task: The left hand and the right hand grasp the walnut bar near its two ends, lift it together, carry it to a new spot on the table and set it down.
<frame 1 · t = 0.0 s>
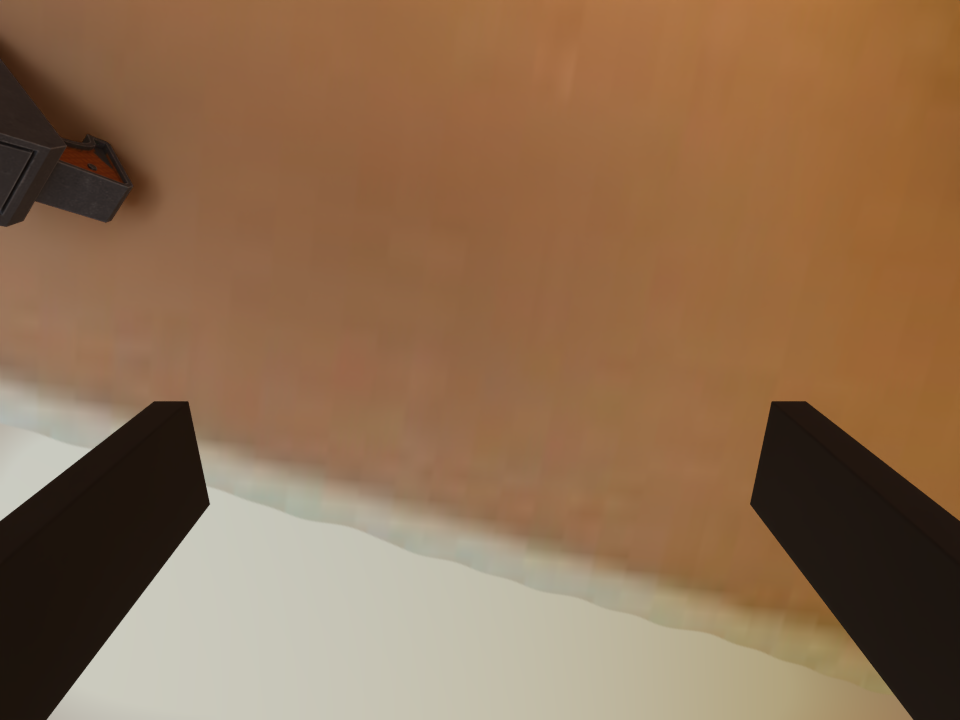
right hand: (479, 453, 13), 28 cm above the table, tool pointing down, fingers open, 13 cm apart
tool: (5, 87, 35), on the table
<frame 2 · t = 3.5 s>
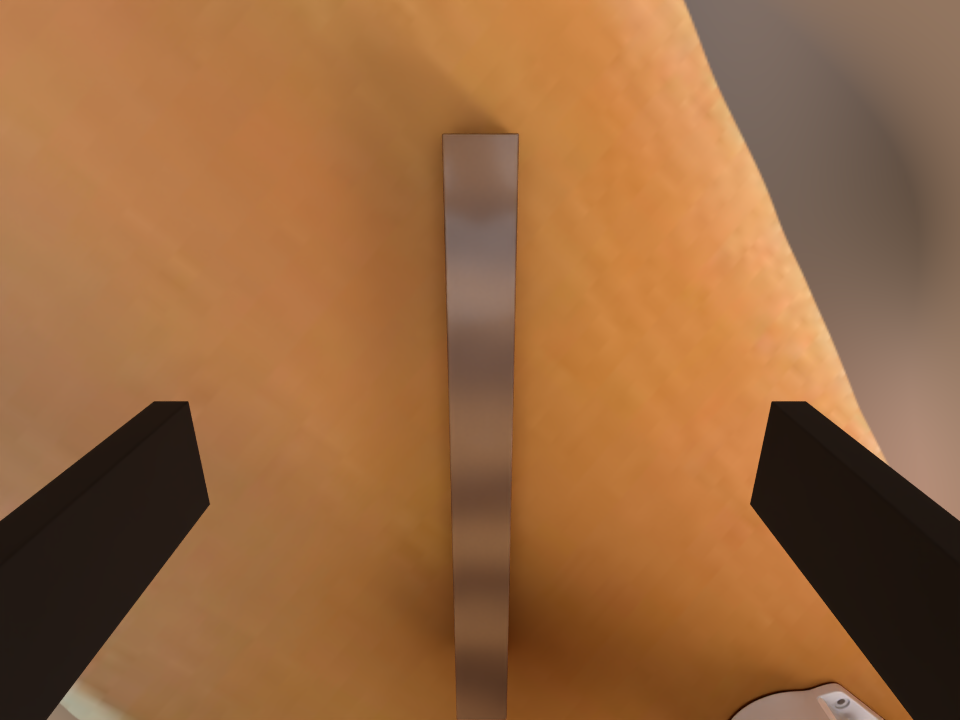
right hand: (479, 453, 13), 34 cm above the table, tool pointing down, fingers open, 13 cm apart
bar: (481, 440, 51), on the table
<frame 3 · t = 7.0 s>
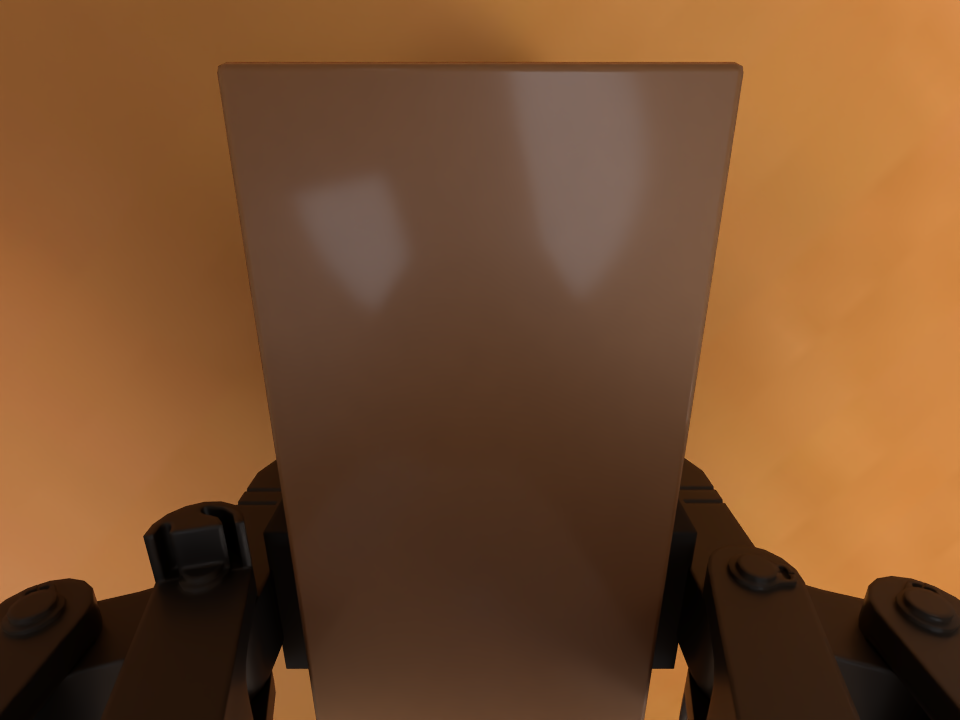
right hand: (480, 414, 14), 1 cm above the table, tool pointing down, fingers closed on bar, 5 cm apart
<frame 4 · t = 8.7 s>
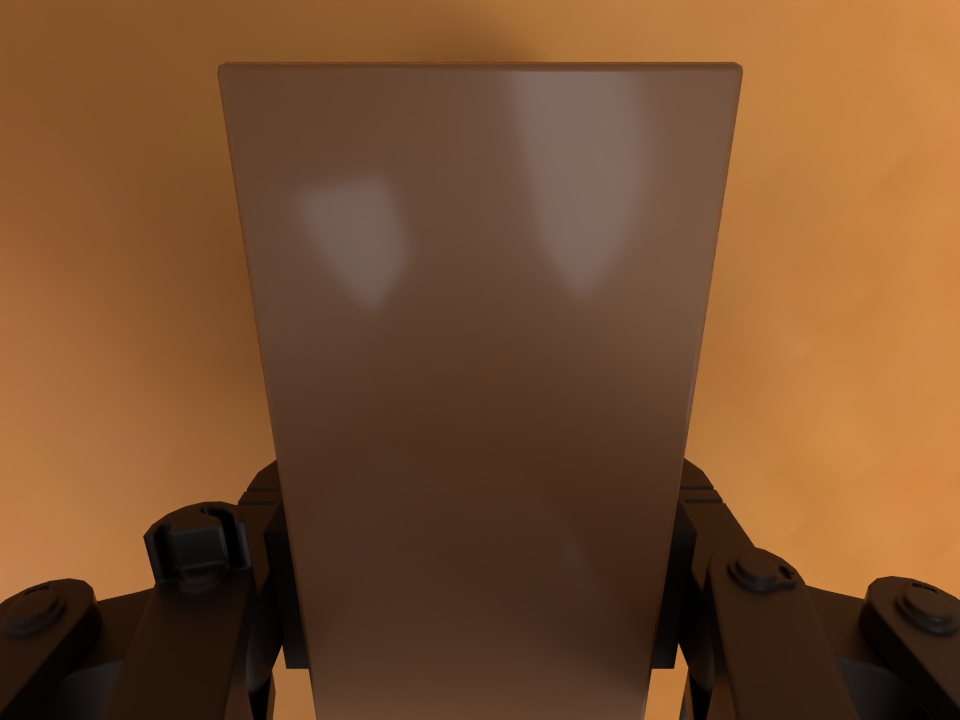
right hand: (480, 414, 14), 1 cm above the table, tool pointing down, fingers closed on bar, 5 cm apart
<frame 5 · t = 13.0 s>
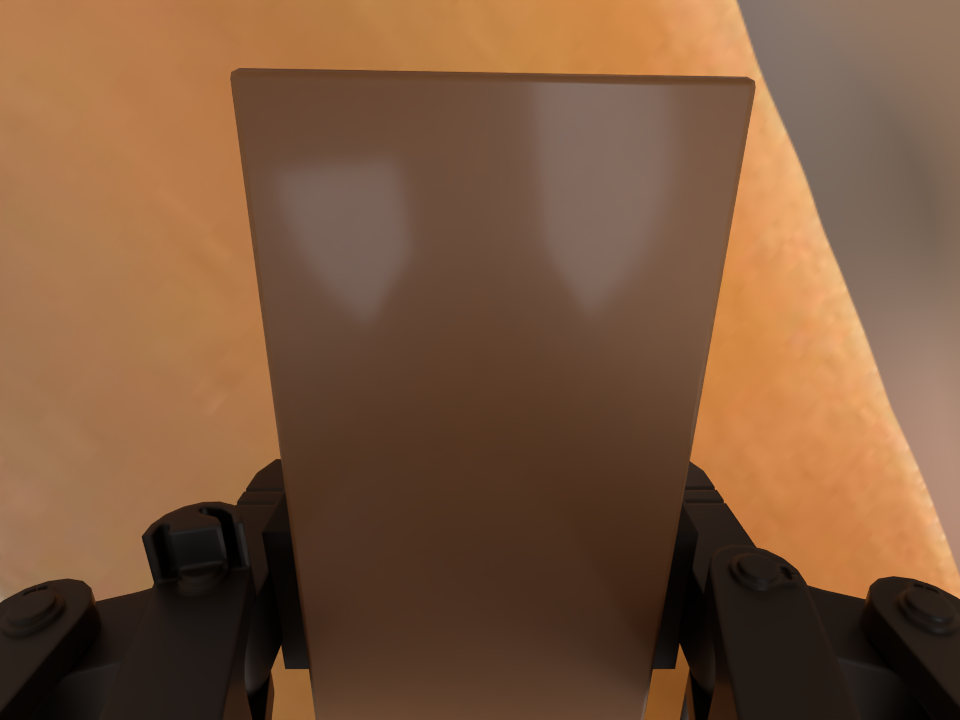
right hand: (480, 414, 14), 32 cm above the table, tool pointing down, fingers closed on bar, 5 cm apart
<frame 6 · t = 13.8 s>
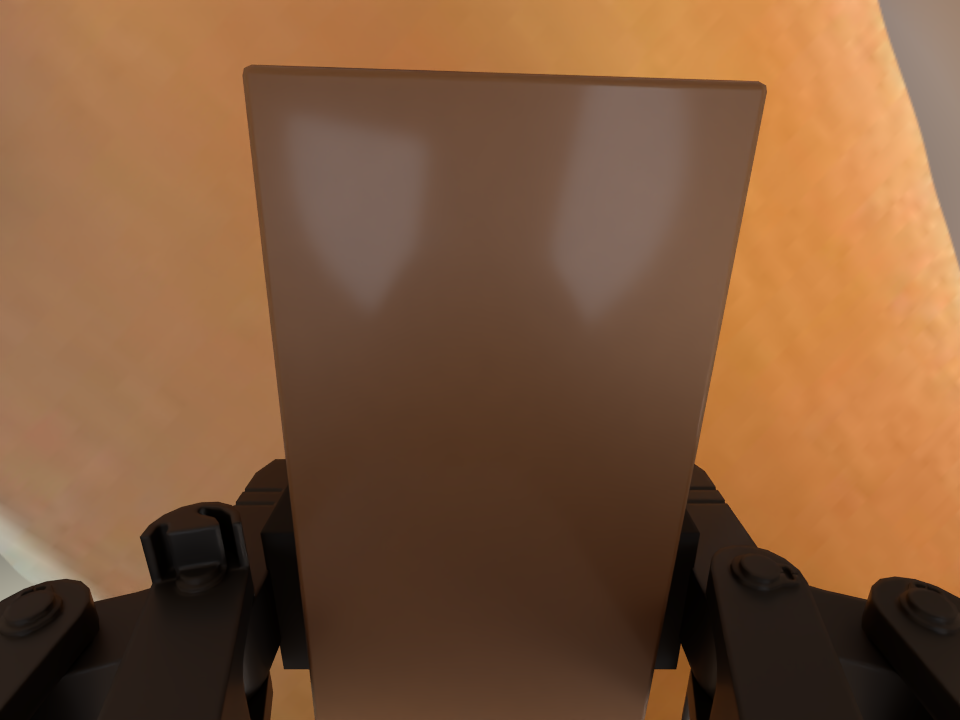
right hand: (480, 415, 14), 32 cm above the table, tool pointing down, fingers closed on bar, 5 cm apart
when the right hand's fingers open (1 cm above the table, at t = 19.0 s): bar stays where it is, on the table.
when the left hand's fingers open (4 cm above the table, at t = 19.2 s): bar stays where it is, on the table.
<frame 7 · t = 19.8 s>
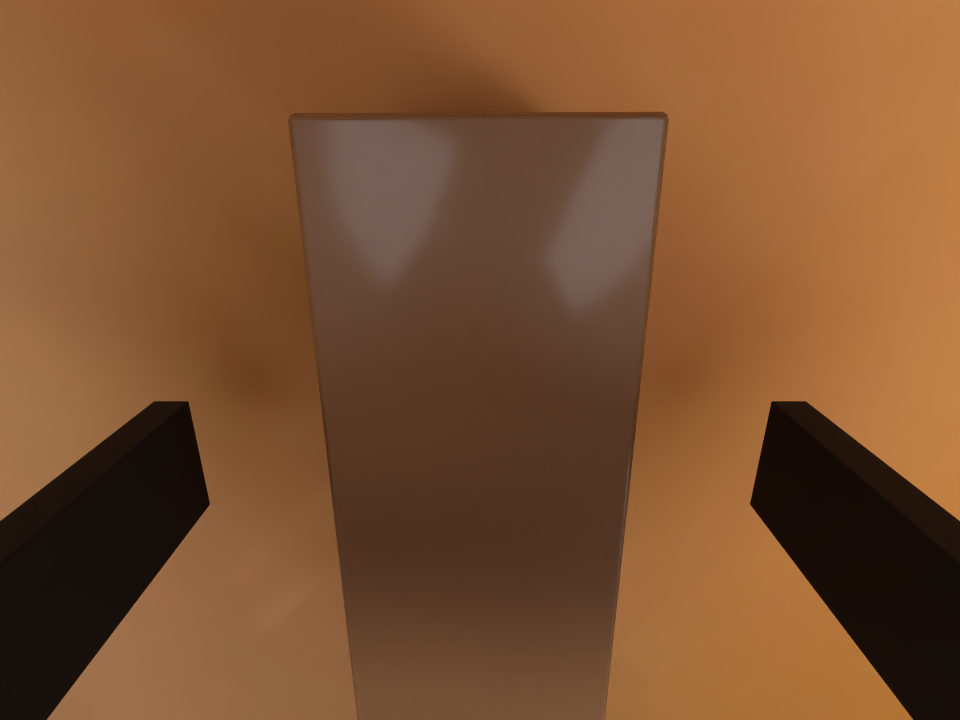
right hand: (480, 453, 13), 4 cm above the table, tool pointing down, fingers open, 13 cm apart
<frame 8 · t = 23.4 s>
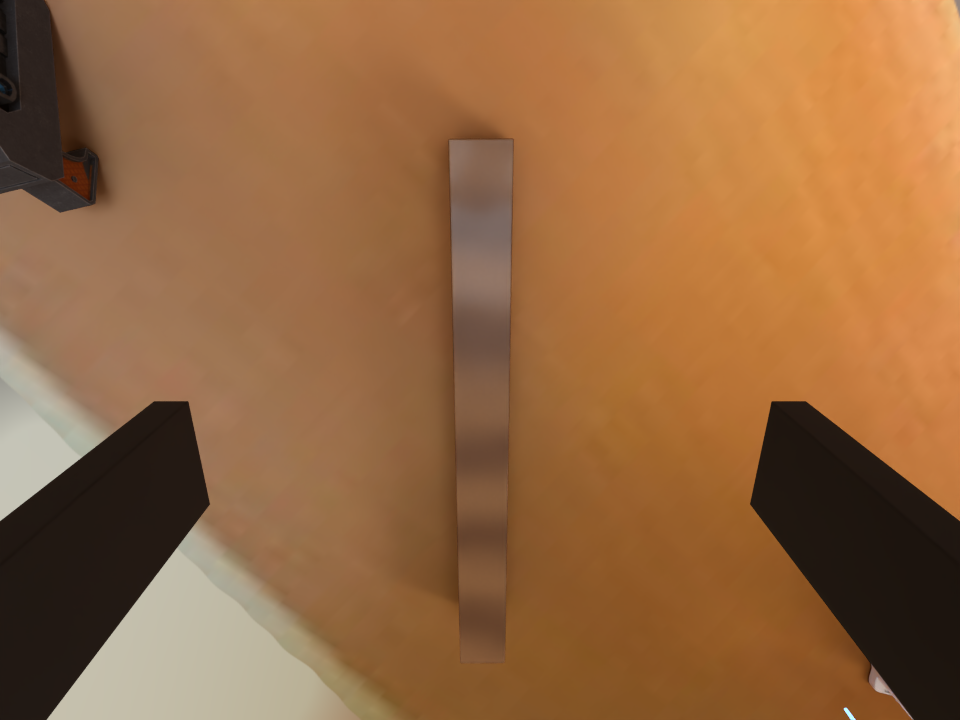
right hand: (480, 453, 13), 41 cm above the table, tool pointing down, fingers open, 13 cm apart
tool: (47, 78, 46), on the table
bar: (481, 411, 57), on the table
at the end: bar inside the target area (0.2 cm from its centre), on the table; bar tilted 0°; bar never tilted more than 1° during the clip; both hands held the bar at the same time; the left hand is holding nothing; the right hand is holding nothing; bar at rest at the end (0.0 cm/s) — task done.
